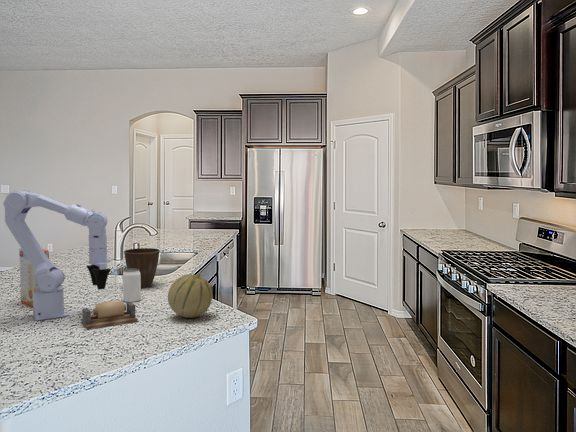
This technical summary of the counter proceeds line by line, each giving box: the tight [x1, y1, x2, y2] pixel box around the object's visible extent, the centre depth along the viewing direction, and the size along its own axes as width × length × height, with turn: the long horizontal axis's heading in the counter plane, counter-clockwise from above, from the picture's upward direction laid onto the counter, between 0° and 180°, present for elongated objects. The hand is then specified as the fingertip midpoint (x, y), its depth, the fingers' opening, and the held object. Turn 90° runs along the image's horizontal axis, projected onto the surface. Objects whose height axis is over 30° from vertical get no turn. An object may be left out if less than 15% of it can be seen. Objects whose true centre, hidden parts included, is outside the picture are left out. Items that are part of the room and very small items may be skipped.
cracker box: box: [18, 247, 50, 308], centre depth 180 cm, size 14×6×21 cm, turn 47°
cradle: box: [80, 302, 139, 330], centre depth 158 cm, size 16×10×5 cm, turn 124°
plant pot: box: [123, 247, 160, 289], centre depth 211 cm, size 15×15×16 cm
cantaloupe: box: [167, 273, 213, 319], centre depth 164 cm, size 15×15×15 cm
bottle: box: [92, 300, 127, 319], centre depth 158 cm, size 10×5×5 cm, turn 124°
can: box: [122, 268, 142, 303], centre depth 186 cm, size 6×6×12 cm
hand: (98, 287), depth 167 cm, fingers open, 7 cm apart
